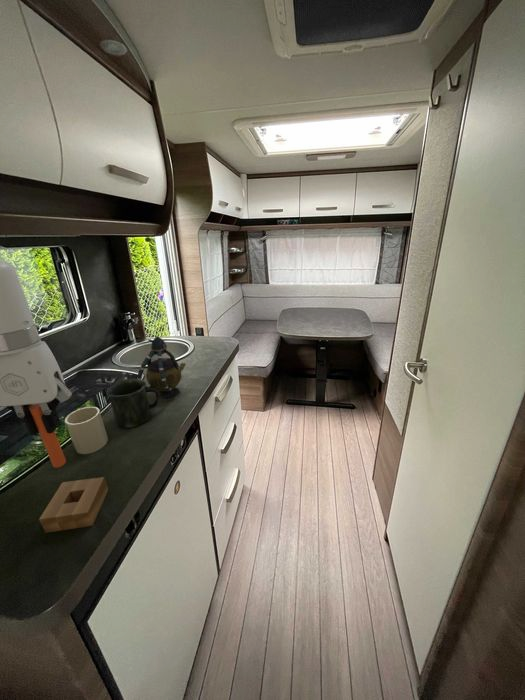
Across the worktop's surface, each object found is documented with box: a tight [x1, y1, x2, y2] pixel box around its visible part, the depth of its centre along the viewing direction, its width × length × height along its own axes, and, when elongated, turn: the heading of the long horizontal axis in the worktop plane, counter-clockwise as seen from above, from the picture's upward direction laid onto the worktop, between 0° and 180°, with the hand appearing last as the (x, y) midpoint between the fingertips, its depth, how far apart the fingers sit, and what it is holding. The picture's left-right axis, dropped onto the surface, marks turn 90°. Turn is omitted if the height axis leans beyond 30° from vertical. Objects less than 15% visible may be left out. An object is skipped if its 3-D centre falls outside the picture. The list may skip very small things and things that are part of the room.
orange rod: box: [29, 404, 67, 469], centre depth 53 cm, size 2×2×14 cm
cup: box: [64, 406, 109, 455], centre depth 78 cm, size 8×8×10 cm
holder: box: [38, 476, 109, 534], centre depth 60 cm, size 9×9×4 cm
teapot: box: [136, 336, 186, 402], centre depth 103 cm, size 12×25×23 cm, turn 171°
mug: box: [105, 378, 160, 429], centre depth 89 cm, size 11×15×12 cm
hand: (46, 428), depth 53 cm, fingers closed on orange rod, 2 cm apart
